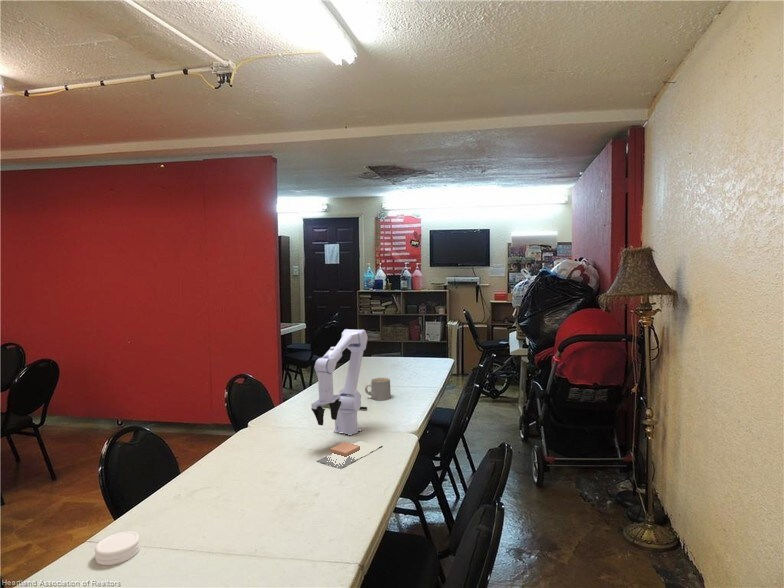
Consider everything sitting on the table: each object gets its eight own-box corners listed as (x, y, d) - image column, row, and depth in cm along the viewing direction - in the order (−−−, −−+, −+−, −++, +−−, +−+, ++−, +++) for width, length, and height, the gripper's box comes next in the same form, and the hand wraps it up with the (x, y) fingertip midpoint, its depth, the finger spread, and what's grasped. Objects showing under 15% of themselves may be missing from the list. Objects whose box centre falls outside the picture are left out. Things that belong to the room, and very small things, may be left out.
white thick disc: (86, 562, 120) (85, 548, 120) (121, 540, 129) (120, 527, 129) (115, 570, 116) (114, 556, 116) (149, 547, 126) (148, 534, 125)
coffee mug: (391, 395, 261) (391, 377, 260) (389, 400, 251) (388, 381, 250) (367, 395, 262) (366, 377, 262) (364, 400, 252) (363, 382, 252)
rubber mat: (316, 461, 176) (316, 460, 176) (359, 440, 195) (359, 440, 195) (341, 469, 169) (341, 468, 169) (382, 446, 188) (382, 445, 188)
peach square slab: (330, 448, 183) (345, 453, 178) (344, 441, 189) (359, 445, 184) (330, 453, 183) (346, 457, 178) (344, 446, 189) (360, 450, 184)
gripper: (320, 394, 182) (321, 429, 183) (345, 385, 194) (347, 418, 194) (306, 391, 186) (308, 426, 187) (332, 383, 198) (334, 415, 199)
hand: (327, 422), depth 191 cm, fingers open, 7 cm apart
